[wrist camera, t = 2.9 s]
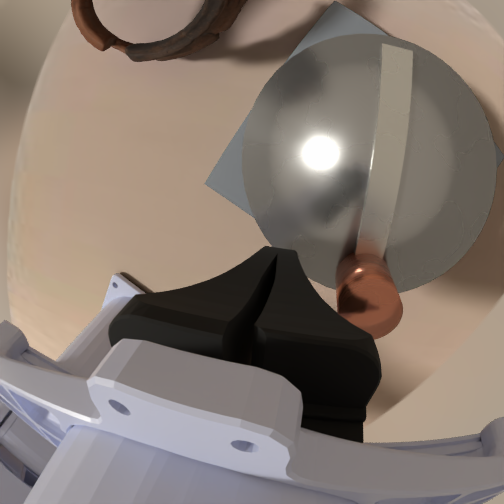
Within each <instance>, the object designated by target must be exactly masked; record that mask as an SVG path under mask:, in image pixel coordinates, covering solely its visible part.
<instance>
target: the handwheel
mask: <svg viewBox="0 0 504 504" xmlns="http://www.w3.org/2000/svg"><path fill="white" fill-rule="evenodd" d="M242 174H243V181H244V188H245V192H246V195H247V199H248V202H249V206H250V208H251V211H252V213H253V215H254V218H255V220H256V222H257V224H258V226H259V227H260V229H261V231H262V233H263V234H264V236H265V237H266V239H267V240H268V241H269V243H270V244H271V245H272V247H276V248H283V249H290V250H296V252H297V253H298V258H299V261H300V264H301V266H302V268H303V270H304V272H305V274H306V276H307V277H308V278H310V279H312V280H313V281H315V282H318V283H320V284H322V285H324V286H326V287H329V288H332V289H335V290H336V295H337V311H338V314H339V315H341V316H342V317H343V318H345V319H346V320H348V321H349V322H350V323H352V324H353V325H355V326H357V327H359V328H361V329H362V330H364V331H366V332H368V333H369V334H371V335H372V336H373V339H378V338H381V337H383V336H385V335H387V334H388V333H390V332H391V331H392V330H393V329H394V328H395V327H396V326H397V325H398V323H399V322H400V320H401V317H402V314H403V305H402V302H401V299H400V296H399V294H398V293H401V292H405V291H408V290H411V289H415V288H417V287H420V286H422V285H424V284H426V283H429V282H431V281H432V280H434V279H436V278H437V277H439V276H441V275H442V274H444V273H445V272H446V271H447V270H449V269H450V268H451V267H453V266H454V265H455V264H456V263H457V262H458V261H459V260H460V259H461V258H462V257H463V256H464V255H465V254H466V253H467V251H468V250H469V249H470V248H471V246H472V245H473V244H474V242H475V241H476V239H477V237H478V236H479V234H480V232H481V231H482V229H483V227H484V224H485V222H486V220H487V218H488V215H489V212H490V209H491V206H492V202H493V198H494V193H495V187H496V174H497V164H496V151H495V146H494V141H493V136H492V132H491V129H490V126H489V123H488V120H487V118H486V116H485V114H484V111H483V109H482V107H481V105H480V103H479V102H478V100H477V98H476V97H475V95H474V94H473V92H472V91H471V89H470V88H469V86H468V85H467V84H466V83H465V82H464V80H463V79H462V78H461V77H460V76H459V75H458V74H457V73H456V72H455V71H454V70H453V69H452V68H451V67H450V66H449V65H447V64H446V63H445V62H444V61H443V60H441V59H440V58H438V57H437V56H435V55H434V54H432V53H431V52H429V51H427V50H425V49H423V48H422V47H420V46H417V45H415V44H413V43H411V42H408V41H405V40H402V39H399V38H395V37H390V36H385V35H379V34H351V35H343V36H338V37H334V38H331V39H327V40H324V41H321V42H319V43H317V44H314V45H312V46H310V47H308V48H306V49H304V50H303V51H301V52H299V53H298V54H296V55H295V56H293V57H292V58H290V59H289V60H288V61H287V62H286V63H285V64H284V65H283V66H281V67H280V68H279V69H278V70H277V71H276V72H275V73H274V75H273V76H272V77H271V78H270V79H269V81H268V82H267V83H266V84H265V86H264V88H263V89H262V91H261V92H260V94H259V96H258V97H257V99H256V101H255V103H254V106H253V108H252V110H251V113H250V115H249V118H248V121H247V125H246V129H245V133H244V139H243V147H242Z"/></svg>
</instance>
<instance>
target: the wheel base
mask: <svg viewBox="0 0 504 504" xmlns="http://www.w3.org/2000/svg"><path fill="white" fill-rule="evenodd" d="M351 34H379V35H385V36H388V35H387V34H386V33H384V32H383V31H381V30H380V29H379V28H377V27H376V26H374V25H373V24H371V23H370V22H369V21H367V20H366V19H364V18H363V17H361V16H359V15H358V14H356V13H355V12H353V11H352V10H350V9H348V8H347V7H345V6H343V5H342V4H340V3H338V2H336V1H334V2H333V3H332V4H331V5H330V7H329V8H328V9H327V10H326V11H325V13H324V14H323V15H322V16H321V17H320V19H319V20H318V21H317V22H316V23H315V25H314V26H313V27H312V28H311V30H310V31H309V32H308V33H307V35H306V36H305V37H304V38H303V40H302V41H301V42H300V44H299V45H298V46H297V47H296V49H295V50H294V51H293V53H292V54H291V55H290V57H289V58H288V59H287V61H288V60H289V59H290V58H292V57H293V56H295V55H296V54H298V53H299V52H301V51H303V50H304V49H306V48H308V47H310V46H312V45H314V44H317V43H319V42H321V41H324V40H327V39H331V38H334V37H338V36H343V35H351ZM287 61H286V62H287ZM286 62H285V63H286ZM285 63H284V64H285ZM250 113H251V111H250ZM250 113H249V114H248V116H247V117H246V119H245V120H244V122H243V123H242V125H241V126H240V128H239V129H238V131H237V132H236V134H235V135H234V137H233V139H232V140H231V142H230V143H229V145H228V146H227V148H226V150H225V151H224V153H223V154H222V156H221V157H220V159H219V161H218V162H217V164H216V166H215V167H214V169H213V170H212V172H211V174H210V175H209V177H208V179H207V180H206V182H205V184H206V185H207V186H208V187H210V188H211V189H213V190H214V191H216V192H217V193H219V194H220V195H222V196H223V197H225V198H226V199H228V200H229V201H230V202H232V203H233V204H235V205H236V206H238V207H239V208H241V209H242V210H243V211H245V212H246V213H248V214H249V215H251V216H252V217H254V215H253V213H252V211H251V208H250V206H249V202H248V199H247V195H246V192H245V188H244V181H243V174H242V147H243V139H244V133H245V129H246V125H247V121H248V118H249V115H250ZM494 146H495V151H496V164H497V168H498V166H499V165H500V163H501V162H502V160H503V159H504V155H503V154H502V152H501V151H500V149H499V148H498V146H497V145H496V144H495V142H494Z"/></svg>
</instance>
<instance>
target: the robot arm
mask: <svg viewBox="0 0 504 504" xmlns="http://www.w3.org/2000/svg"><path fill="white" fill-rule="evenodd" d="M381 377H382V374H381V363H380V358H379V354H378V351H377V347H376V345H375V342H374V339H373V336H372V335H371V334H369V333H368V332H366V331H364V330H362V329H361V328H359V327H357V326H355V325H353V324H352V323H350V322H349V321H348V320H346V319H345V318H343V317H342V316H341V315H339V314H338V313H337V312H336V311H334V310H333V309H332V308H331V307H330V306H329V305H328V304H327V303H326V302H325V301H324V300H323V299H322V298H321V297H320V296H319V294H318V293H317V292H316V290H315V289H314V288H313V286H312V285H311V283H310V281H309V280H308V278H307V276H306V274H305V272H304V270H303V268H302V266H301V264H300V261H299V258H298V253H297V252H296V250H290V249H283V248H276V247H269V246H265V247H263V248H262V249H260V250H259V251H258V252H256V253H255V254H254V255H252V256H251V257H250V258H248V259H247V260H245V261H244V262H242V263H241V264H239V265H237V266H236V267H234V268H232V269H231V270H229V271H227V272H225V273H223V274H221V275H219V276H217V277H214V278H212V279H210V280H207V281H204V282H201V283H198V284H195V285H192V286H188V287H184V288H180V289H175V290H170V291H164V292H156V293H145V292H143V291H142V290H141V289H139V288H138V287H137V286H135V285H134V284H133V283H131V282H130V281H129V280H127V279H126V278H125V277H123V276H122V275H121V274H119V273H116V274H114V275H113V276H112V278H111V281H110V284H109V287H108V290H107V293H106V297H105V300H104V303H103V306H102V309H101V311H100V312H99V313H98V314H97V316H96V317H95V318H94V319H93V320H92V321H91V322H90V323H89V324H88V325H87V326H86V327H85V328H84V329H83V331H82V332H81V333H80V334H79V335H78V336H77V337H76V338H75V339H74V341H73V342H72V343H71V344H70V345H69V346H68V347H67V348H66V349H65V351H64V352H63V353H62V354H61V355H60V356H59V357H58V359H57V360H56V361H54V360H52V359H51V358H49V357H47V356H45V355H43V354H42V353H40V352H38V351H37V350H35V349H33V348H32V347H30V346H29V344H28V341H27V339H26V337H25V335H24V334H23V332H22V331H21V330H20V329H19V328H18V327H16V326H14V325H13V324H11V323H10V322H8V321H6V320H4V321H3V322H2V323H1V324H0V504H483V503H485V502H487V501H489V500H491V499H493V498H494V497H496V496H498V495H499V494H501V493H502V492H504V417H501V418H497V419H495V420H493V421H492V422H490V423H489V424H488V425H487V426H486V427H485V428H484V429H483V430H482V431H481V433H479V434H473V435H467V436H462V437H454V438H446V439H438V440H428V441H415V442H394V443H363V422H364V421H365V420H366V406H367V404H368V402H369V401H370V399H371V397H372V396H373V394H374V392H375V391H376V389H377V387H378V385H379V383H380V380H381Z"/></svg>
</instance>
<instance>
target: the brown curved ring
mask: <svg viewBox="0 0 504 504" xmlns="http://www.w3.org/2000/svg"><path fill="white" fill-rule="evenodd" d="M246 1H247V0H205V2H204V4H203V6H202V8H201V10H200V12H199V13H198V14H197V16H196V17H195V18H194V19H193V21H192V22H191V23H190V24H189V25H187V26H186V27H185V28H184V29H183V30H181V31H179V32H178V33H177V34H175V35H173V36H171V37H169V38H167V39H164V40H161V41H156V42H152V43H137V44H133V43H130V42H126V41H123V40H121V39H119V38H118V37H117V36H115V35H114V34H112V33H111V32H110V31H108V30H107V29H106V28H105V27H104V26H103V25H102V23H101V22H100V21H99V19H98V17H97V15H96V13H95V10H94V7H93V2H92V0H71V7H72V12H73V17H74V20H75V23H76V25H77V27H78V28H79V30H80V32H81V34H82V35H83V36H84V37H85V39H86V40H87V41H88V42H89V43H90V44H92V45H93V46H94V47H95V48H97V49H98V50H100V51H105V50H107V49H108V48H110V47H113V48H115V49H118V50H120V51H121V52H123V53H125V54H126V55H127V56H128V57H129V58H130V59H131V60H132V61H134V62H142V61H150V60H157V61H166V60H171V59H176V58H179V57H183V56H186V55H189V54H192V53H194V52H196V51H199V50H201V49H203V48H204V47H206V46H208V45H210V44H211V43H213V42H215V41H216V40H217V39H218V38H219V32H222V31H225V30H227V29H229V28H230V27H231V25H232V24H233V22H234V21H235V20H236V18H237V16H238V14H239V12H240V11H241V8H242V7H243V5H244V4H245V3H246Z"/></svg>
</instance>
